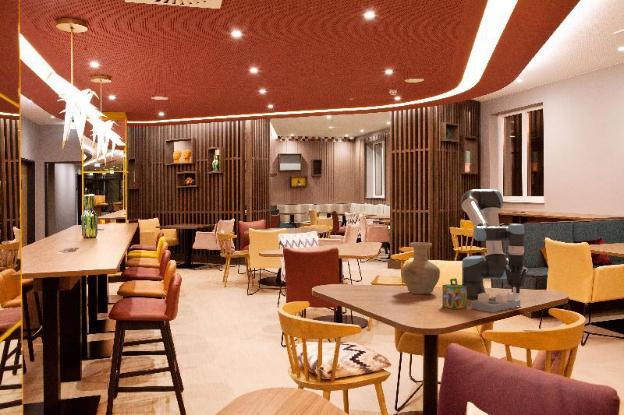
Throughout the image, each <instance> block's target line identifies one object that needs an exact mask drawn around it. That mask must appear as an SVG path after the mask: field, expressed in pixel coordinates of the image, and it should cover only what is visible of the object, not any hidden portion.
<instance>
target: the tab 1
mask: <svg viewBox="0 0 624 415" xmlns="http://www.w3.org/2000/svg"><path fill="white" fill-rule="evenodd" d="M489 298H490V294H487V292H486V293H481V294H478V299H477V300H478V302H483V303H488V304H489Z"/></svg>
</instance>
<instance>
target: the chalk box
mask: <svg viewBox="0 0 624 415" xmlns="http://www.w3.org/2000/svg"><path fill="white" fill-rule="evenodd" d="M449 281H450V284H449V283H448V284H442V301H441V302H442V303H441V304H442V308H447V309H452V310H462V309H467V303H468V299H467V286H463V285H462V284H458V279H457V278H450V279H449ZM453 282H455V283H453Z"/></svg>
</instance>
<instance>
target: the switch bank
mask: <svg viewBox="0 0 624 415" xmlns="http://www.w3.org/2000/svg"><path fill="white" fill-rule="evenodd" d="M517 306H520V307H521V299H517V300H515V301H507V302H504V303H500V302H496V296H492V297H489V304H488V303H483V302H478V299H474V300H471V301H470V309H473V310H479V311H482V312H488V313H496V312H497V311H498V312H501V310H502V311H506V310H505V309H507V310H510V309H509V308H512V309H514V308H513V307H516V308H518V307H517ZM498 312H497V313H498Z"/></svg>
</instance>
